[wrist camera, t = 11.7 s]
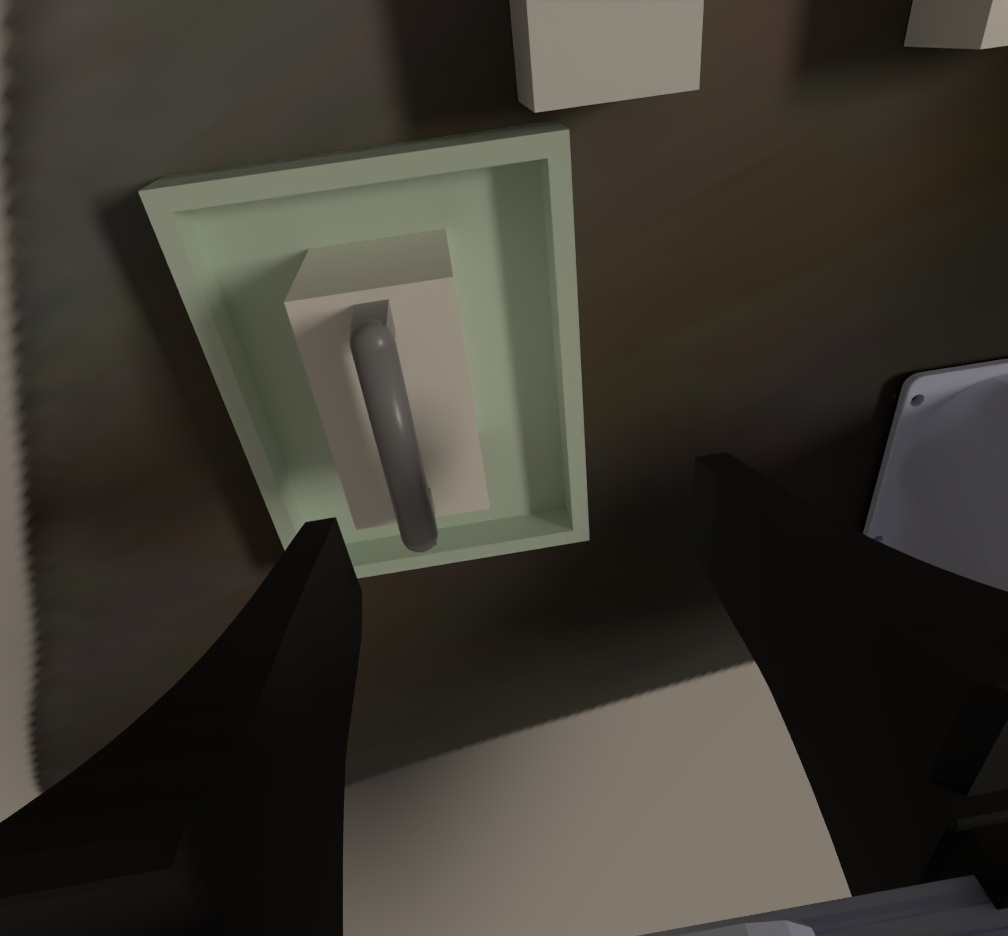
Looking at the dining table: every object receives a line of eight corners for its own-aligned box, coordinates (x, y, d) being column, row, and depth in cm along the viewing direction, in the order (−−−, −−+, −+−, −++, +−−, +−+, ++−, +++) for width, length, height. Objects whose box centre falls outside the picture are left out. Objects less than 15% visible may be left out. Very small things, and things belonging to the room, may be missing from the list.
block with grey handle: (477, 431, 23) (497, 553, 18) (365, 448, 23) (351, 577, 18) (445, 228, 19) (457, 306, 14) (309, 248, 19) (267, 335, 14)
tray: (578, 508, 26) (589, 540, 25) (307, 552, 26) (299, 588, 24) (555, 120, 18) (569, 129, 17) (163, 176, 18) (138, 191, 16)
